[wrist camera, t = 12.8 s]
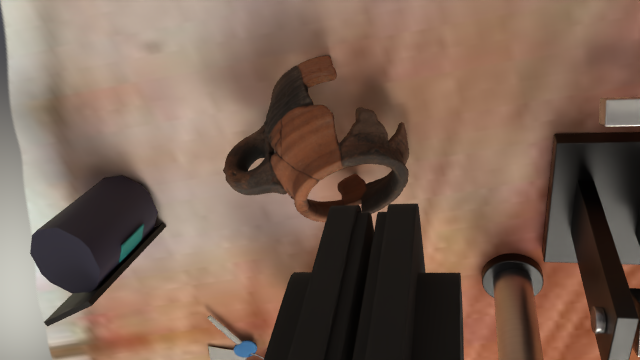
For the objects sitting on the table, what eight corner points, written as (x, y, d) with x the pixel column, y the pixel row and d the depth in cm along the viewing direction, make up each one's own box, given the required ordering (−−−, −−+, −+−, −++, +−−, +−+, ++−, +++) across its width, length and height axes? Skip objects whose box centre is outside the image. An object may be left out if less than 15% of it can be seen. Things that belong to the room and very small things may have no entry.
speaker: (181, 243, 49) (112, 331, 41) (125, 246, 51) (48, 330, 43) (147, 164, 46) (65, 241, 37) (89, 171, 48) (-2, 245, 39)
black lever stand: (554, 133, 37) (590, 274, 27) (694, 130, 35) (791, 280, 25) (541, 251, 43) (568, 404, 33) (662, 254, 41) (731, 417, 31)
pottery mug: (367, 24, 36) (407, 126, 31) (397, 112, 44) (432, 204, 39) (192, 95, 38) (205, 201, 33) (250, 167, 45) (268, 261, 41)
